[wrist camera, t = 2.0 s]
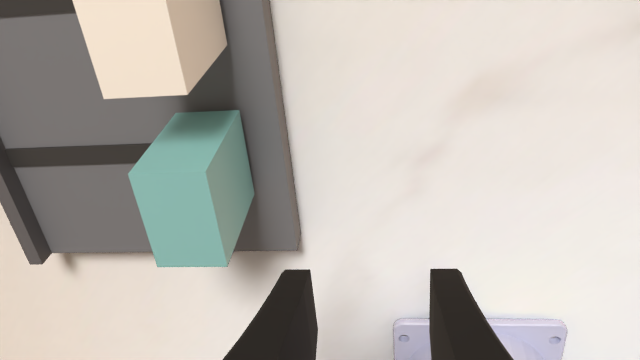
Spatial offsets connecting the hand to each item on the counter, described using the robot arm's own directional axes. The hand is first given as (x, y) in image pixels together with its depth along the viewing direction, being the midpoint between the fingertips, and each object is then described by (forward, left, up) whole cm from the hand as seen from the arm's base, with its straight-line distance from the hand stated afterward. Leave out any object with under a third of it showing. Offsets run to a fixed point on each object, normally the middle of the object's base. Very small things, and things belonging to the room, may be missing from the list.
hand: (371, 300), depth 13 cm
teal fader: (0, +6, -8) cm, 10 cm away
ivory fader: (+6, +6, -8) cm, 12 cm away
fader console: (+2, +9, -9) cm, 14 cm away
